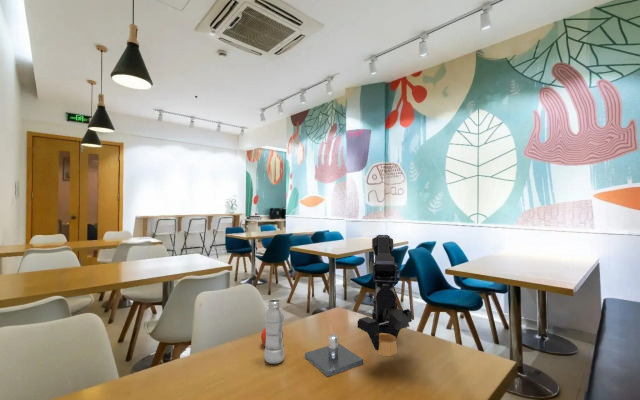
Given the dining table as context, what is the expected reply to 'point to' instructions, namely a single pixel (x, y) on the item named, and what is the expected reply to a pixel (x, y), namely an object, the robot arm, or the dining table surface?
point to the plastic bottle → (274, 333)
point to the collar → (386, 345)
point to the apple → (263, 336)
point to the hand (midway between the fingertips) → (385, 347)
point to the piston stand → (333, 358)
